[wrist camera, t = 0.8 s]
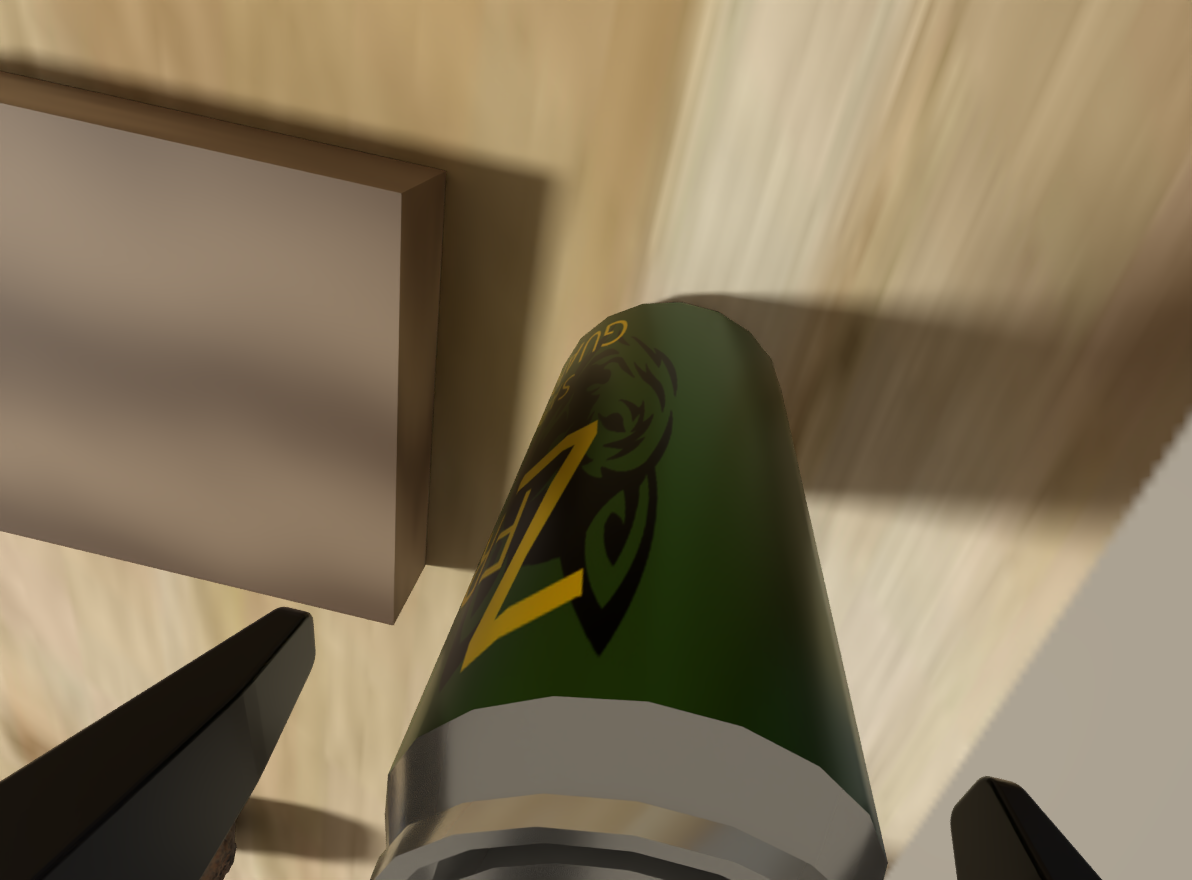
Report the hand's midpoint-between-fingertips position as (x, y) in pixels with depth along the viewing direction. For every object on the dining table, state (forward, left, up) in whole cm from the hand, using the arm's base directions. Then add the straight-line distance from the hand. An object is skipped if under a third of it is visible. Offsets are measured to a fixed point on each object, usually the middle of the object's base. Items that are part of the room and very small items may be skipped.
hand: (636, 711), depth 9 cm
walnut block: (-2, +12, -9) cm, 15 cm away
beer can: (0, 0, -9) cm, 9 cm away
